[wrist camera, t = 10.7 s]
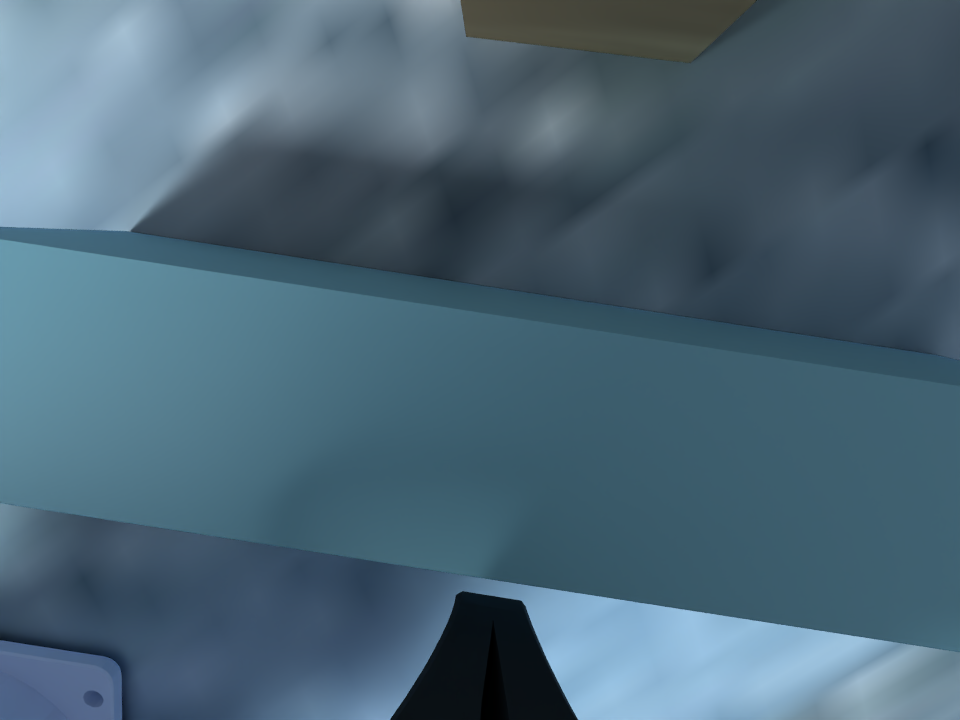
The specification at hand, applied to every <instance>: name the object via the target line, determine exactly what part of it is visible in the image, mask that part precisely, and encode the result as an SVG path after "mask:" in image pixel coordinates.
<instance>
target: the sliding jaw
mask: <svg viewBox="0 0 960 720" xmlns="http://www.w3.org/2000/svg"><path fill="white" fill-rule="evenodd" d="M0 503H2V504H9V505H15V506H22V507H28V508H34V509H41V510H47V511H54V512H60V513H67V514H73V515H79V516H86V517H92V518H99V519H105V520H112V521H118V522H125V523H131V524H137V525H144V526H150V527H157V528H163V529H170V530H176V531H183V532H189V533H195V534H202V535H208V536H215V537H221V538H228V539H234V540H240V541H247V542H253V543H260V544H266V545H273V546H279V547H286V548H292V549H298V550H305V551H311V552H318V553H324V554H331V555H337V556H343V557H350V558H356V559H363V560H369V561H376V562H382V563H389V564H395V565H401V566H408V567H414V568H421V569H427V570H434V571H440V572H446V573H453V574H459V575H466V576H472V577H479V578H485V579H492V580H498V581H504V582H511V583H517V584H524V585H530V586H537V587H543V588H550V589H556V590H562V591H569V592H575V593H582V594H588V595H595V596H601V597H607V598H614V599H620V600H627V601H633V602H640V603H646V604H653V605H659V606H665V607H672V608H678V609H685V610H691V611H698V612H704V613H710V614H717V615H723V616H730V617H736V618H743V619H749V620H756V621H762V622H768V623H775V624H781V625H788V626H794V627H801V628H807V629H813V630H820V631H826V632H833V633H839V634H846V635H852V636H859V637H865V638H871V639H878V640H884V641H891V642H897V643H904V644H910V645H916V646H923V647H929V648H936V649H942V650H949V651H955V652H960V361H959V360H955V359H951V358H947V357H943V356H939V355H933V354H926V353H920V352H913V351H906V350H900V349H893V348H887V347H880V346H874V345H867V344H861V343H854V342H848V341H841V340H835V339H828V338H821V337H815V336H808V335H802V334H795V333H789V332H782V331H776V330H769V329H763V328H756V327H750V326H743V325H737V324H730V323H723V322H717V321H710V320H704V319H697V318H691V317H684V316H678V315H671V314H665V313H658V312H652V311H645V310H638V309H632V308H625V307H619V306H612V305H606V304H599V303H593V302H586V301H580V300H573V299H567V298H560V297H553V296H547V295H540V294H534V293H527V292H521V291H514V290H508V289H501V288H495V287H488V286H482V285H475V284H468V283H462V282H455V281H449V280H442V279H436V278H429V277H423V276H416V275H410V274H403V273H397V272H390V271H384V270H377V269H370V268H364V267H357V266H351V265H344V264H338V263H331V262H325V261H318V260H312V259H305V258H299V257H292V256H285V255H279V254H272V253H266V252H259V251H253V250H246V249H240V248H233V247H227V246H220V245H214V244H207V243H200V242H194V241H187V240H181V239H174V238H168V237H161V236H155V235H148V234H142V233H135V232H129V231H102V230H74V229H45V228H16V227H0Z"/></svg>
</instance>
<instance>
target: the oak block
mask: <svg viewBox="0 0 960 720" xmlns="http://www.w3.org/2000/svg"><path fill="white" fill-rule="evenodd" d="M756 1H757V0H461V6H462V12H463V19H464V25H465V31H466V37H474V38H482V39H490V40H499V41H507V42H516V43H524V44H533V45H541V46H550V47H558V48H567V49H575V50H584V51H592V52H601V53H609V54H618V55H626V56H635V57H643V58H651V59H660V60H668V61H677V62H685V63H691V62H692V61H693V60H694V59H695V58H696V57H698V56H699V55H700V54H701V53H702V52H703V51H704V50H705V49H706V48H707V47H708V46H709V45H710V44H711V43H712V42H713V41H715V40H716V39H717V38H718V37H719V36H720V35H721V34H722V33H723V32H724V31H725V30H726V29H727V28H728V27H729V26H731V25H732V24H733V23H734V22H735V21H736V20H737V19H738V18H739V17H740V16H741V15H742V14H743V13H744V12H745V11H746V10H748V9H749V8H750V7H751V6H752V5H753V4H754V3H755V2H756Z"/></svg>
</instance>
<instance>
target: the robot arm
mask: <svg viewBox="0 0 960 720" xmlns="http://www.w3.org/2000/svg"><path fill="white" fill-rule="evenodd" d="M0 720H122V674H121V670H120V667H119V666H118V664H117V663H116V662H115V661H113V660H112V659H111V658H108V657H105V656H98V655H92V654H86V653H79V652H73V651H66V650H60V649H54V648H47V647H41V646H34V645H28V644H22V643H15V642H9V641H3V640H0ZM390 720H578V719H577V717H576V715H575V714H574V712H573V710H572V708H571V706H570V704H569V703H568V701H567V699H566V697H565V695H564V693H563V691H562V689H561V687H560V685H559V683H558V681H557V679H556V677H555V675H554V673H553V671H552V669H551V667H550V665H549V663H548V661H547V659H546V656H545V654H544V652H543V650H542V647H541V645H540V643H539V641H538V638H537V636H536V633H535V631H534V628H533V626H532V623H531V621H530V618H529V615H528V613H527V610H526V607H525V605H524V604H523V602H522V601H520V600H514V599H508V598H501V597H495V596H489V595H482V594H476V593H470V592H463V591H462V592H460V593H459V594H457V595H456V598H455V603H454V606H453V610H452V613H451V615H450V618H449V620H448V623H447V625H446V627H445V629H444V631H443V634H442V636H441V638H440V640H439V642H438V643H437V645H436V647H435V649H434V651H433V653H432V655H431V656H430V658H429V660H428V662H427V664H426V666H425V667H424V669H423V671H422V672H421V674H420V675H419V677H418V678H417V680H416V682H415V683H414V685H413V686H412V688H411V689H410V691H409V693H408V694H407V696H406V697H405V699H404V700H403V702H402V703H401V705H400V706H399V708H398V709H397V710H396V712H395V713H394V715H393V716H392V717H391V719H390Z"/></svg>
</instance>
